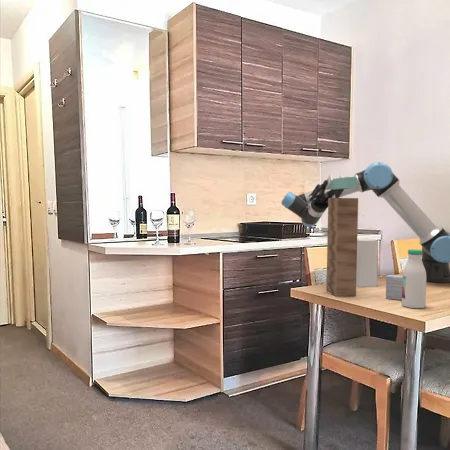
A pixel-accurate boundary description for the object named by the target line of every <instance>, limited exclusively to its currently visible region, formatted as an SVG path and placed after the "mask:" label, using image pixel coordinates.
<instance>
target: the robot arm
mask: <svg viewBox="0 0 450 450" xmlns="http://www.w3.org/2000/svg"><path fill="white" fill-rule="evenodd" d="M344 177H345V176H344V175H343V174H340V176H339V177H338V178H344ZM353 177H357V188H349V189H335V190H326V189H328V187H329V186H330V184H331V182H332V181H333V179H334V177H333V174H329V175H328V177H327V179H324V180H323V183H321V184H320V183H318V184H317V185H315V188H314V189H313V190H310V191H308V192H304V193H302V194H299V195H296V194H295V193H293V192H291V191H288V192H287V193H286V194H285V195H284V197H283V198H282V200H281V205H282V206H283V207H285V209H287V210H289V211H290V212H292V213H293V214H295V215H296V216H298V217H299V218H300V219H301V223H302V225H303V226H305V227H307V228H312V227H315V225H317V223H319V221H320V219H321V217H322V216H323V215H324V213H325V211H326V210H328V198H344V197H346V196H348V195H352V194H354V193H357V192H359V193H364V192H368V191H372V192H373V194H375V195H376V196H377V197H378V198H383V199H384V200H385V202H386V203H387V204H388V205H389V206H390V207H391V209H393V210H394V211H395V213H396V214H397V215H399V218H401V219H402V220H403V221H404V222H405V223H406V225H407V226H408V227H409V228H410V229H411V230H412V232H413V233H414V234H415V235H416V236H417V237H418V238H419V245H420V246H421V250H422V257H421V259H422V263H423V265H424V268H425V270H426V282H430V283H450V264H449V263H450V232H449V231H446V230H445V228H444V227H443V226H438V225H436V224H435V223H434V222H433V220H431V218H429V217H428V215H427V214H426V213H425V212H424V211H423V209H421V207H420V206H418V204H417V203H416V202H415V201H414V199H412V198H411V196H410V195H409V194H408V193H407V192H406V191H405V190H404V189H403V187H402V186H401V185H400V179H399V178H398V177H397V175H396V174H395V173H394V172H393V170H392V168H391V167H390V165H388V164H387V163H384V162H373V163H371V164H370V165H368V166H367V167H366V168H365V169H364V170H362V171H360V172H357V173H355V174H354V175H353ZM325 187H326V189H325Z"/></svg>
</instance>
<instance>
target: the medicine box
mask: <svg viewBox="0 0 450 450" xmlns="http://www.w3.org/2000/svg"><path fill="white" fill-rule="evenodd" d="M402 279H403V275H397V274H395V275H394V274H388V275H386V278H385V280H386V281H385V282H386V283H385V299H387V300H396V301H402Z"/></svg>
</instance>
